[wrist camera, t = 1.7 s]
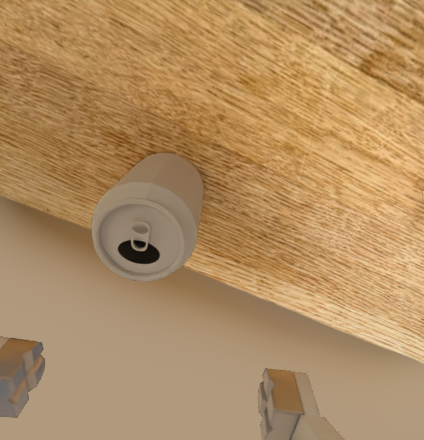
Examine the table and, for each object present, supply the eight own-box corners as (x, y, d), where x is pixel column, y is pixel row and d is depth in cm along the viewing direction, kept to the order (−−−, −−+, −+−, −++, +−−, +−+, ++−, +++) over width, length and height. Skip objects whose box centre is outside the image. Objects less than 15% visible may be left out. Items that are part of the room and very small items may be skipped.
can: (127, 213, 32) (78, 280, 21) (135, 143, 29) (82, 178, 18) (197, 227, 32) (184, 300, 21) (211, 159, 29) (205, 203, 18)
